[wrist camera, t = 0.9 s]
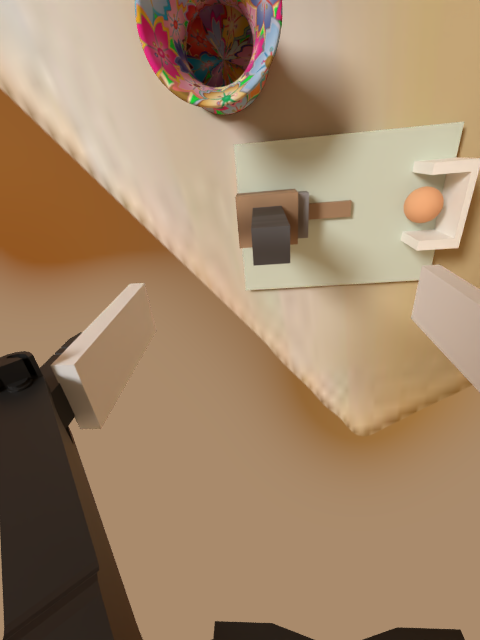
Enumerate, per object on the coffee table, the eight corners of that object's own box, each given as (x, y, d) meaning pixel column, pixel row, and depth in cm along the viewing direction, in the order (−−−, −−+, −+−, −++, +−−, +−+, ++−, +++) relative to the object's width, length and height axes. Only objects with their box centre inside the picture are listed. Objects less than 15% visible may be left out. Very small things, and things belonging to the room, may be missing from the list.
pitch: (234, 144, 32) (233, 144, 30) (458, 122, 30) (468, 121, 28) (246, 287, 39) (245, 292, 38) (424, 276, 37) (430, 281, 36)
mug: (292, 75, 29) (310, 40, 19) (214, 141, 32) (196, 137, 22) (216, -81, 24) (191, -224, 15) (133, 13, 27) (68, -59, 18)
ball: (453, 187, 28) (440, 183, 31) (412, 189, 29) (402, 185, 32) (444, 225, 30) (432, 218, 33) (405, 227, 31) (397, 220, 34)
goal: (414, 161, 31) (434, 162, 27) (456, 157, 30) (482, 158, 27) (400, 240, 34) (416, 250, 31) (437, 237, 34) (458, 247, 31)
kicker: (237, 193, 32) (227, 214, 22) (306, 187, 31) (330, 206, 21) (241, 240, 34) (234, 280, 24) (305, 236, 34) (327, 274, 23)
